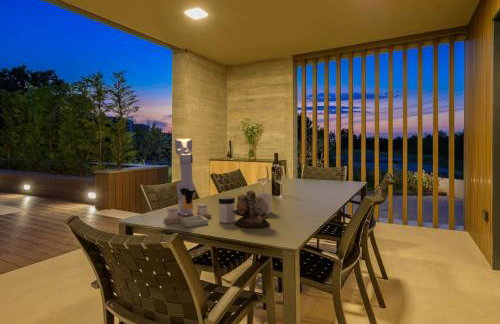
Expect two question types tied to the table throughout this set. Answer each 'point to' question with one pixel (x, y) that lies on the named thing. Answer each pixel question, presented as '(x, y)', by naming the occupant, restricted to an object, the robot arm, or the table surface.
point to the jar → (226, 209)
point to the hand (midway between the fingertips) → (187, 202)
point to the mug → (266, 200)
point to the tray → (194, 221)
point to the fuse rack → (183, 217)
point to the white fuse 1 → (172, 213)
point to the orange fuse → (185, 205)
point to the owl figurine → (251, 211)
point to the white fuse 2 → (202, 209)
